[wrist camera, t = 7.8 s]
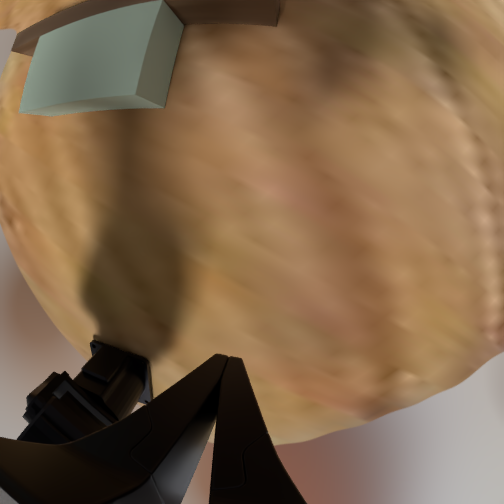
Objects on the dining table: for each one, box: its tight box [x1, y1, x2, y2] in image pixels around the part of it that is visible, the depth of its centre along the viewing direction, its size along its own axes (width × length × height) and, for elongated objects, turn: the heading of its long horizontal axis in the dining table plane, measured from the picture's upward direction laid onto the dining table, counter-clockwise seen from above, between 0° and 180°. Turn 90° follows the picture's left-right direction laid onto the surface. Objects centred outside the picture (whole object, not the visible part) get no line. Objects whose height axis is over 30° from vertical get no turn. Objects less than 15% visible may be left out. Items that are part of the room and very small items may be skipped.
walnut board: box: [11, 0, 280, 57], centre depth 13 cm, size 2×24×4 cm, turn 81°
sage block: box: [19, 0, 184, 116], centre depth 14 cm, size 7×12×4 cm, turn 81°
